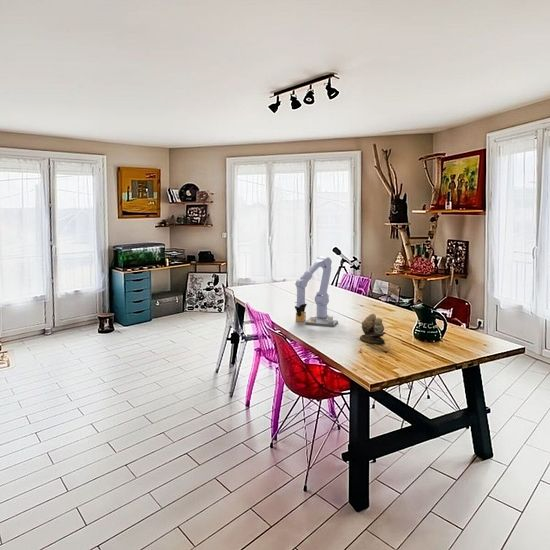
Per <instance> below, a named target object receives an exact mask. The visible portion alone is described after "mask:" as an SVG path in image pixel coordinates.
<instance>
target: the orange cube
mask: <svg viewBox="0 0 550 550" xmlns="http://www.w3.org/2000/svg"><path fill="white" fill-rule="evenodd" d="M306 312H307V311H302V312H301V316H297V311H296V312H295V322H302V323H304V322H306V321H307V319H306Z"/></svg>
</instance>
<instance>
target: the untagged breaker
mask: <svg viewBox="0 0 550 550" xmlns="http://www.w3.org/2000/svg"><path fill="white" fill-rule="evenodd" d="M327 320H328V323H333V320H334V315H328V316H327Z"/></svg>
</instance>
